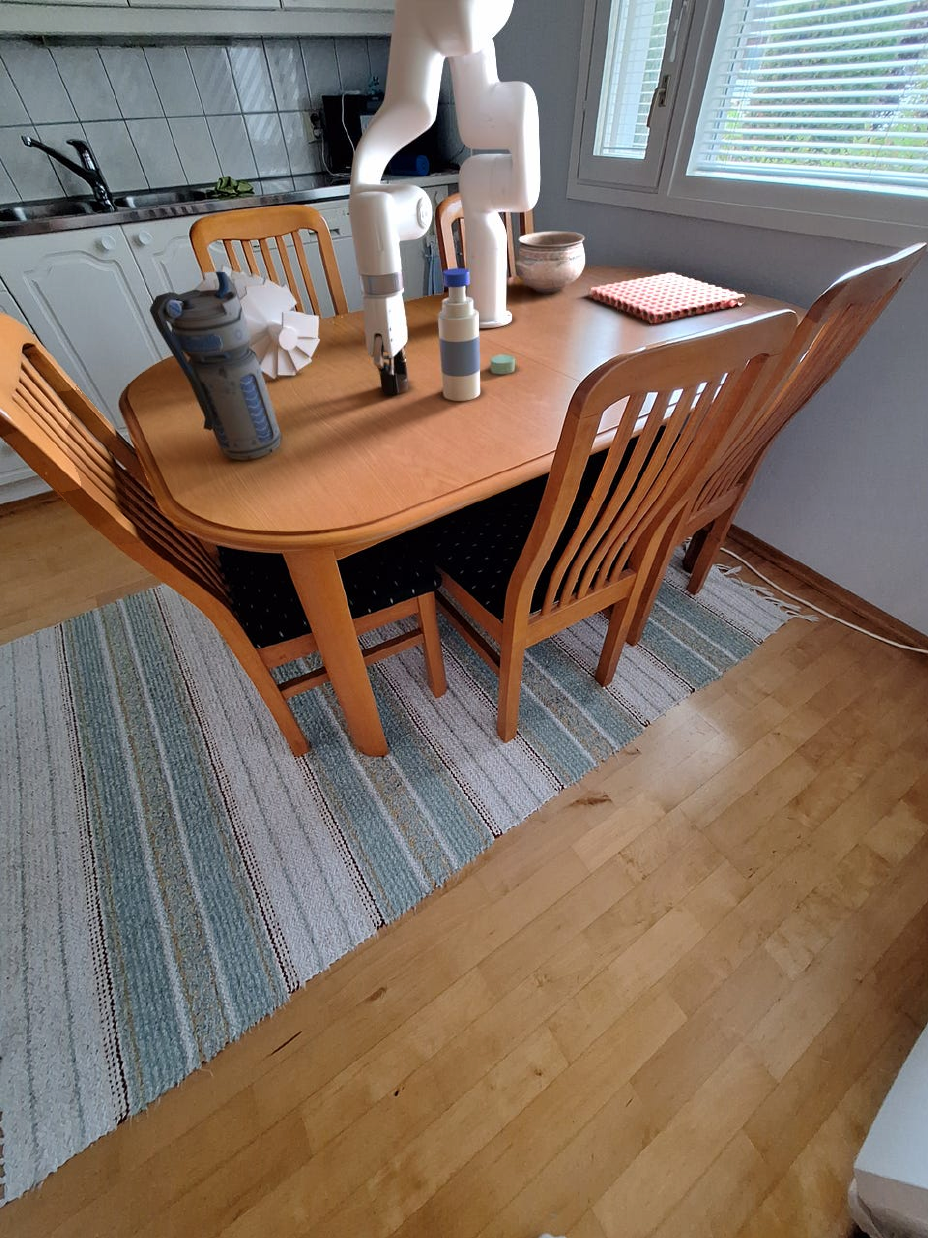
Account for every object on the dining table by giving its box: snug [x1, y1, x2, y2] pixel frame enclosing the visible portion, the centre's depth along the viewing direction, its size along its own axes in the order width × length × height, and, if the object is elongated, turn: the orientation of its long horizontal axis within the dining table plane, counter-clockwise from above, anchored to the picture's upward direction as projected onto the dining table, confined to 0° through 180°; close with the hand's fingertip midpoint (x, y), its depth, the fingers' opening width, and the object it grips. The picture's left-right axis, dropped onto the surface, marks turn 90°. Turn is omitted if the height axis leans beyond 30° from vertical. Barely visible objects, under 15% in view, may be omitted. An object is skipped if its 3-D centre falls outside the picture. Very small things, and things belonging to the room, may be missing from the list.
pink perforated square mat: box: [587, 272, 746, 324], centre depth 138 cm, size 28×28×2 cm
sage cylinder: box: [489, 353, 516, 375], centre depth 109 cm, size 5×5×2 cm
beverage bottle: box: [149, 270, 282, 461], centre depth 81 cm, size 10×13×25 cm
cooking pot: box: [514, 230, 586, 295], centre depth 145 cm, size 25×19×12 cm
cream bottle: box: [437, 267, 481, 402], centre depth 96 cm, size 7×7×20 cm
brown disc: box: [396, 373, 409, 395], centre depth 105 cm, size 5×5×2 cm
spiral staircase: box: [193, 264, 321, 380], centre depth 111 cm, size 18×18×25 cm
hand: (395, 386), depth 105 cm, fingers closed on brown disc, 5 cm apart
